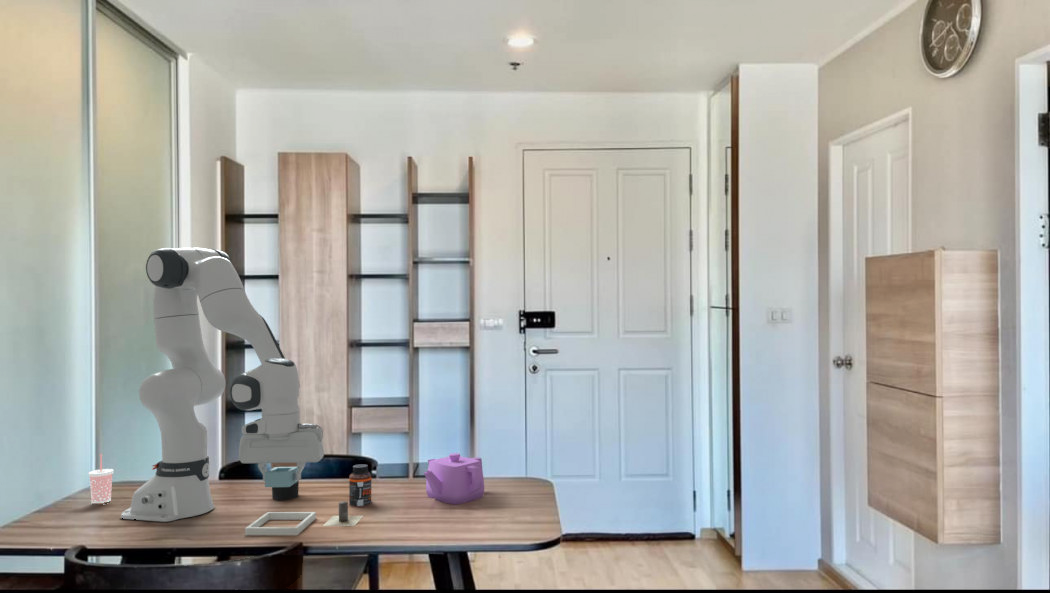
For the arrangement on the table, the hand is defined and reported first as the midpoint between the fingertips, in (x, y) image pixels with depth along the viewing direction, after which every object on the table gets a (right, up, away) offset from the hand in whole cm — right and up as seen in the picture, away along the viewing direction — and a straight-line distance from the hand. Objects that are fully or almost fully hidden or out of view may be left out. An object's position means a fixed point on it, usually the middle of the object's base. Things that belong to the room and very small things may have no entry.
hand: (282, 480), depth 167 cm
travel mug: (-10, -13, +30) cm, 34 cm away
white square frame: (0, -12, 0) cm, 12 cm away
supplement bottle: (+15, -13, +19) cm, 27 cm away
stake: (+14, -12, +4) cm, 19 cm away
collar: (0, -1, 0) cm, 1 cm away
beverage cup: (-61, -14, +26) cm, 68 cm away
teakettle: (+39, -13, +28) cm, 50 cm away
